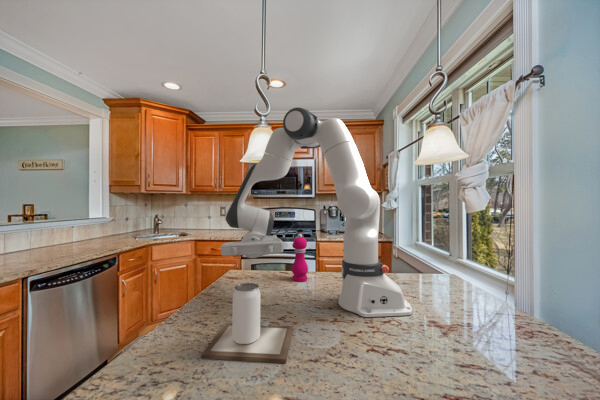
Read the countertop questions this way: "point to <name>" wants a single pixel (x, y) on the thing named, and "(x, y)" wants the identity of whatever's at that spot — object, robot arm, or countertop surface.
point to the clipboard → (252, 345)
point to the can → (246, 313)
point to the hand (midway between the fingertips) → (252, 251)
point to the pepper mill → (299, 260)
